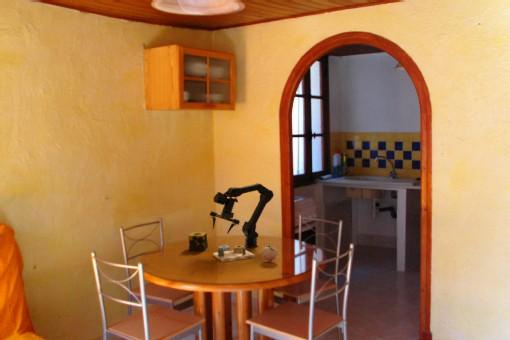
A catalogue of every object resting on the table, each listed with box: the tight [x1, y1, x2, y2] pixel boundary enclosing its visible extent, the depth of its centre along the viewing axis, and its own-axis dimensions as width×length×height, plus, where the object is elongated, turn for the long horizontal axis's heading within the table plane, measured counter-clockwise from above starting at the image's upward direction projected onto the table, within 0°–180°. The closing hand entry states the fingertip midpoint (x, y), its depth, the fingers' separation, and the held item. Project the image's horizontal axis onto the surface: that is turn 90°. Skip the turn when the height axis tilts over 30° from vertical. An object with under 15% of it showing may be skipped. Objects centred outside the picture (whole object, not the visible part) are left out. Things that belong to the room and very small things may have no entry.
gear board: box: [212, 244, 256, 263], centre depth 289 cm, size 20×16×5 cm
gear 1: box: [217, 244, 231, 251], centre depth 301 cm, size 7×7×3 cm
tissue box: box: [188, 231, 209, 252], centre depth 308 cm, size 10×10×10 cm
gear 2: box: [232, 244, 246, 253], centre depth 295 cm, size 7×7×3 cm
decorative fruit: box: [261, 244, 279, 263], centre depth 276 cm, size 9×8×10 cm
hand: (220, 231), depth 300 cm, fingers open, 9 cm apart
